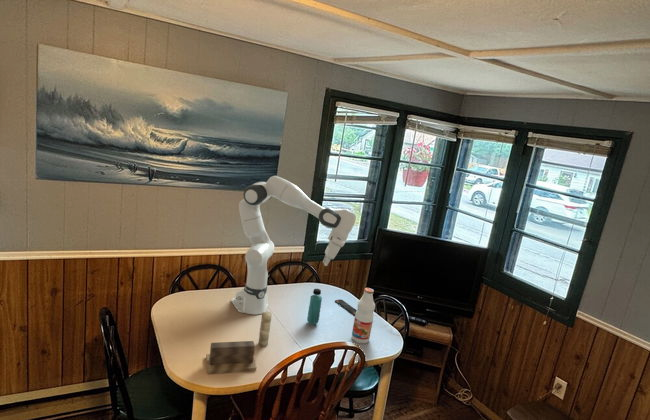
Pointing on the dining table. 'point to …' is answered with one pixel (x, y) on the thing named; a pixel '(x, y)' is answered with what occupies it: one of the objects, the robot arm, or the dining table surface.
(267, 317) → the maple dowel
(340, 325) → the dining table surface
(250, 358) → the fulcrum ridge
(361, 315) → the fruit juice
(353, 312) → the remote control
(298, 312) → the dining table surface
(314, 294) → the beverage bottle
